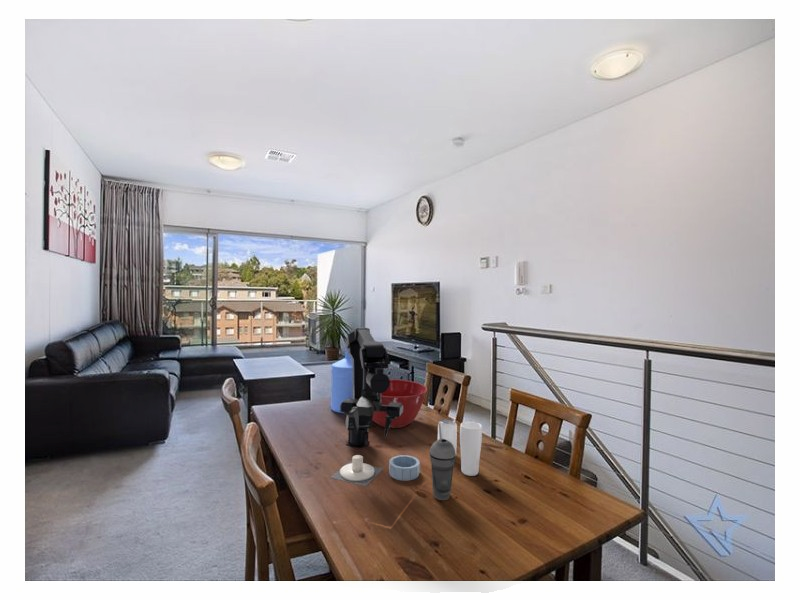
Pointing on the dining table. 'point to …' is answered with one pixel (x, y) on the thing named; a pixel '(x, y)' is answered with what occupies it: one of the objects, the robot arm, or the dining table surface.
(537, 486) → the dining table surface
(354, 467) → the lid
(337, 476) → the mat
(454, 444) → the can
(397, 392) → the mixing bowl
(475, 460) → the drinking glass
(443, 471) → the beverage cup
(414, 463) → the bowl
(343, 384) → the water jug
